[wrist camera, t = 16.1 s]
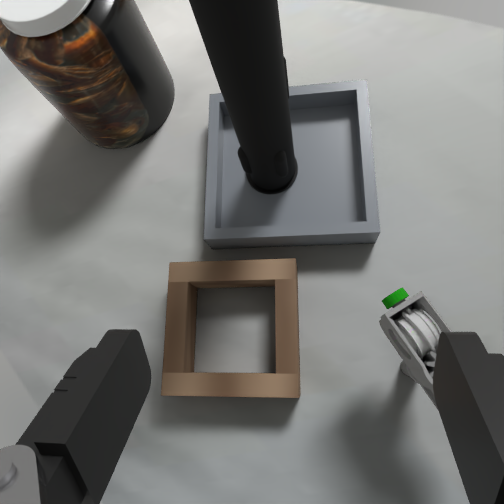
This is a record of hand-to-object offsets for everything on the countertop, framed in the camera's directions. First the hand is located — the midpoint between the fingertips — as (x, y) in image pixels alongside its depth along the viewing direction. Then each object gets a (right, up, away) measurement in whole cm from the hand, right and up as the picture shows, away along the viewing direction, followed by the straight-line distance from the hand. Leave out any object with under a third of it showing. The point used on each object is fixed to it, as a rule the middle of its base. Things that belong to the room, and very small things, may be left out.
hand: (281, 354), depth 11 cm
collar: (-2, -4, +25) cm, 25 cm away
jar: (-15, +19, +34) cm, 42 cm away
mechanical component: (+12, -7, +22) cm, 26 cm away
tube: (+1, +10, +28) cm, 30 cm away
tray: (+3, +11, +28) cm, 30 cm away
